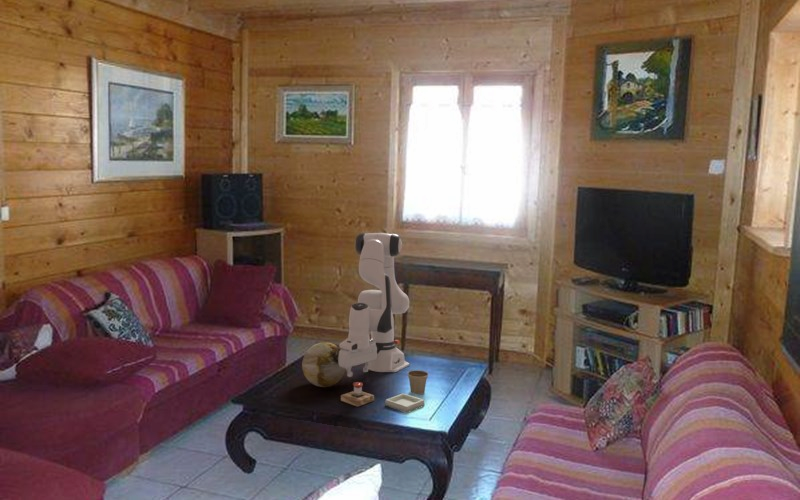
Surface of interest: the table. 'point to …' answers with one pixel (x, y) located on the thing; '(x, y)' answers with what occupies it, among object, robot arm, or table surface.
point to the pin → (357, 389)
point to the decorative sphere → (322, 364)
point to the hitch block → (357, 401)
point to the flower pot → (417, 381)
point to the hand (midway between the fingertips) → (357, 374)
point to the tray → (404, 402)
